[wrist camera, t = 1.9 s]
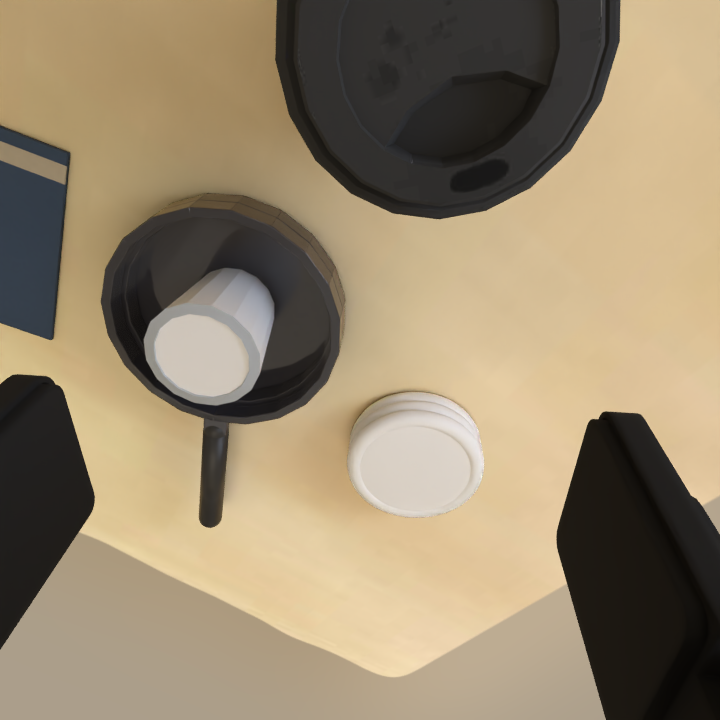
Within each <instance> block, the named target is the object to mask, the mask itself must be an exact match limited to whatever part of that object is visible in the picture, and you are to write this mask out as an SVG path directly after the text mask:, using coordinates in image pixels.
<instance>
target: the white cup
mask: <svg viewBox="0 0 720 720" xmlns="http://www.w3.org/2000/svg"><path fill="white" fill-rule="evenodd" d="M273 321H274V302H273V299H272V297H271V294H270V292H269V290H268V288H267V287H266V286H265V285H264V284H263V283H262V282H261V281H260V280H259V279H258V278H257V277H255V276H253V275H251V274H249V273H247V272H245V271H243V270H241V269H232V268H222V269H219V270H215V271H212V272H210V273H208V274H207V275H206V276H205V277H203V278H202V279H201V280H200V281H199V282H197V283H196V284H195V285H194V286H192V287H191V288H190V289H189V290H188V291H186V292H185V293H184V294H183V295H181V296H180V297H179V298H178V299H177V300H175V301H174V302H173V303H172V304H170V305H169V306H168V307H167V308H166V309H164V310H163V311H162V312H161V313H160V314H159V315H158V316H156V317H155V318H154V319H153V320H152V321H151V322H150V324H149V327H148V329H147V332H146V335H145V338H144V347H145V355H146V360H147V362H148V364H149V366H150V368H151V369H152V371H153V373H154V375H155V376H156V378H157V379H158V380H159V381H160V382H161V383H162V384H164V385H165V386H166V387H167V388H168V389H169V390H170V391H171V392H173V393H174V394H176V395H178V396H180V397H183V398H185V399H187V400H189V401H191V402H194V403H200V404H208V405H220V404H225V403H230V402H234V401H237V400H238V399H240V398H241V397H242V396H244V395H245V394H247V393H248V392H249V391H251V390H252V388H253V386H254V384H255V382H256V380H257V378H258V376H259V374H260V371H261V367H262V363H263V360H264V356H265V352H266V348H267V344H268V340H269V337H270V333H271V329H272V325H273Z"/></svg>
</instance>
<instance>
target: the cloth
mask: <svg viewBox="0 0 720 720" xmlns="http://www.w3.org/2000/svg"><path fill="white" fill-rule="evenodd" d="M69 160H70V153H69V152H67V151H64V150H62V149H59V148H57V147H54V146H51V145H49V144H46V143H44V142H41V141H38V140H36V139H33V138H31V137H28V136H25V135H23V134H20V133H18V132H15V131H12V130H10V129H7V128H5V127H2V126H0V323H2V324H5V325H8V326H11V327H14V328H17V329H20V330H22V331H25V332H28V333H31V334H34V335H37V336H40V337H43V338H46V339H49V340H52V339H53V335H54V324H55V313H56V302H57V291H58V280H59V269H60V258H61V247H62V236H63V225H64V214H65V203H66V193H67V182H68V171H69Z"/></svg>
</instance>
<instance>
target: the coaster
mask: <svg viewBox="0 0 720 720" xmlns="http://www.w3.org/2000/svg"><path fill="white" fill-rule="evenodd" d="M347 468H348V474H349V477H350V480H351V482H352V485H353V487H354V488H355V490H356V491H357V492H358V494H359V495H360V496H361V497H362V498H363V499H364V500H365V501H367V502H368V503H369V504H371V505H372V506H374V507H376V508H378V509H380V510H382V511H384V512H387V513H389V514H393V515H397V516H402V517H411V518H424V517H432V516H437V515H441V514H444V513H447V512H449V511H452V510H454V509H456V508H457V507H459V506H461V505H462V504H464V503H465V502H466V501H467V500H469V498H470V497H471V496H472V495H473V494H474V493H475V491H476V490H477V489H478V487H479V485H480V482H481V479H482V476H483V471H484V457H483V452H482V445H481V440H480V434H479V431H478V428H477V426H476V424H475V422H474V421H473V420H472V418H471V417H470V415H469V414H468V413H467V412H466V411H465V410H464V409H463V408H462V407H460V406H459V405H458V404H456V403H454V402H453V401H451V400H449V399H447V398H444V397H442V396H439V395H435V394H431V393H425V392H404V393H397V394H394V395H390V396H387V397H385V398H382V399H380V400H378V401H376V402H375V403H373V404H372V405H370V406H369V407H368V408H367V409H366V410H365V411H364V412H363V413H362V414H361V415H360V416H359V418H358V419H357V421H356V422H355V424H354V426H353V429H352V432H351V436H350V443H349V451H348V456H347Z"/></svg>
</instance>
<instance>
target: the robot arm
mask: <svg viewBox="0 0 720 720" xmlns="http://www.w3.org/2000/svg"><path fill="white" fill-rule="evenodd" d="M94 501H95V496H94V491H93V488H92V485H91V481H90V478H89V475H88V471H87V468H86V465H85V462H84V458H83V455H82V452H81V448H80V445H79V442H78V438H77V435H76V432H75V428H74V425H73V422H72V418H71V415H70V412H69V408H68V405H67V402H66V398H65V395H64V392H63V390H62V388H61V387H60V386H58V385H55V383H54V381H53V380H52V379H51V378H49V377H47V376H34V375H18V374H17V375H12V376H10V377H9V378H7V379H6V380H5V381H4V382H2V383H1V384H0V649H1V647H2V646H3V645H4V643H5V642H6V640H7V639H8V637H9V636H10V634H11V633H12V631H13V630H14V628H15V627H16V625H17V623H18V622H19V621H20V619H21V618H22V616H23V615H24V613H25V612H26V610H27V609H28V607H29V606H30V604H31V603H32V601H33V600H34V598H35V597H36V595H37V594H38V592H39V591H40V589H41V588H42V586H43V585H44V583H45V582H46V580H47V579H48V577H49V576H50V574H51V573H52V571H53V570H54V568H55V567H56V565H57V564H58V562H59V561H60V559H61V558H62V556H63V555H64V553H65V552H66V550H67V549H68V547H69V546H70V544H71V543H72V541H73V540H74V538H75V537H76V535H77V534H78V532H79V531H80V529H81V528H82V526H83V525H84V523H85V522H86V520H87V519H88V517H89V516H90V514H91V512H92V510H93V507H94ZM557 549H558V553H559V556H560V560H561V563H562V567H563V570H564V574H565V577H566V581H567V584H568V588H569V591H570V595H571V598H572V602H573V605H574V609H575V612H576V616H577V620H578V623H579V627H580V630H581V634H582V637H583V640H584V644H585V647H586V651H587V655H588V658H589V662H590V665H591V669H592V672H593V675H594V679H595V683H596V686H597V690H598V693H599V697H600V700H601V704H602V707H603V711H604V714H605V718H606V720H720V534H719V533H718V531H717V529H716V528H715V526H714V525H713V523H712V521H711V520H710V518H709V516H708V515H707V513H706V512H705V510H704V508H703V507H702V505H701V504H700V503H699V502H698V500H697V499H696V498H694V497H692V496H691V495H690V493H689V492H688V490H687V488H686V487H685V485H684V483H683V482H682V480H681V478H680V477H679V475H678V474H677V472H676V470H675V469H674V467H673V465H672V464H671V462H670V460H669V459H668V457H667V455H666V454H665V452H664V450H663V449H662V447H661V446H660V444H659V442H658V441H657V439H656V437H655V436H654V434H653V432H652V431H651V429H650V427H649V426H648V424H647V422H646V421H645V419H644V418H643V417H642V415H640V414H637V413H621V412H603V413H602V414H601V415H600V417H599V419H592V420H590V421H589V423H588V425H587V428H586V432H585V435H584V439H583V442H582V446H581V449H580V452H579V456H578V459H577V463H576V466H575V470H574V473H573V477H572V480H571V484H570V487H569V491H568V494H567V497H566V501H565V504H564V508H563V511H562V515H561V518H560V522H559V525H558V529H557Z"/></svg>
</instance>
